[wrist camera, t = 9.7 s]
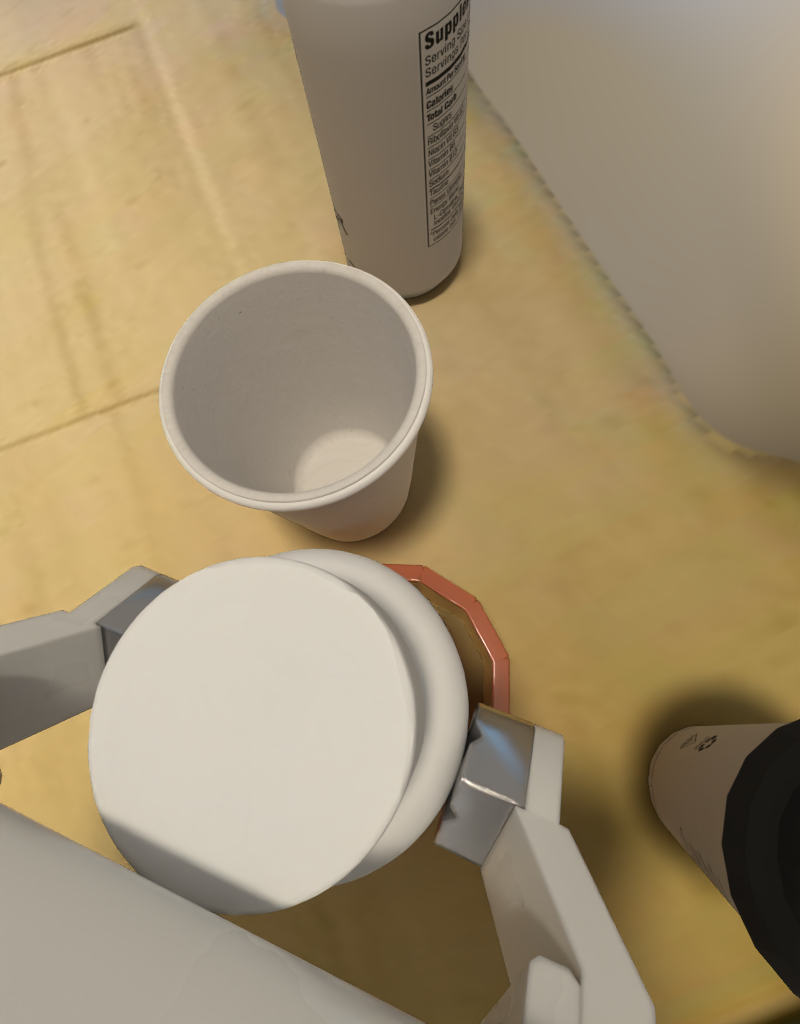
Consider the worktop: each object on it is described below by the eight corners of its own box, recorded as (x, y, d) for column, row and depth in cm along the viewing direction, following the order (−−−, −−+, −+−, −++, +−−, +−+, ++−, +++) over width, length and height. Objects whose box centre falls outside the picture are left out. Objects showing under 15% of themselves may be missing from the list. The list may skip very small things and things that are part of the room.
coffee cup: (649, 909, 20) (837, 1135, 10) (593, 712, 22) (707, 748, 12) (838, 873, 20) (1207, 1069, 10) (764, 678, 22) (1014, 686, 12)
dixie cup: (453, 417, 26) (457, 272, 16) (418, 587, 24) (398, 534, 14) (289, 391, 27) (203, 241, 18) (242, 551, 25) (115, 479, 15)
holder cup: (536, 728, 22) (557, 743, 18) (351, 828, 22) (327, 869, 17) (439, 549, 24) (436, 524, 20) (271, 636, 24) (232, 630, 20)
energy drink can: (368, 205, 30) (295, -220, 16) (473, 223, 29) (500, -211, 15) (334, 295, 29) (218, -82, 14) (443, 318, 28) (440, -61, 13)
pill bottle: (256, 625, 16) (5, 573, 7) (424, 570, 16) (398, 445, 7) (299, 816, 15) (54, 1074, 5) (485, 755, 15) (554, 907, 6)
